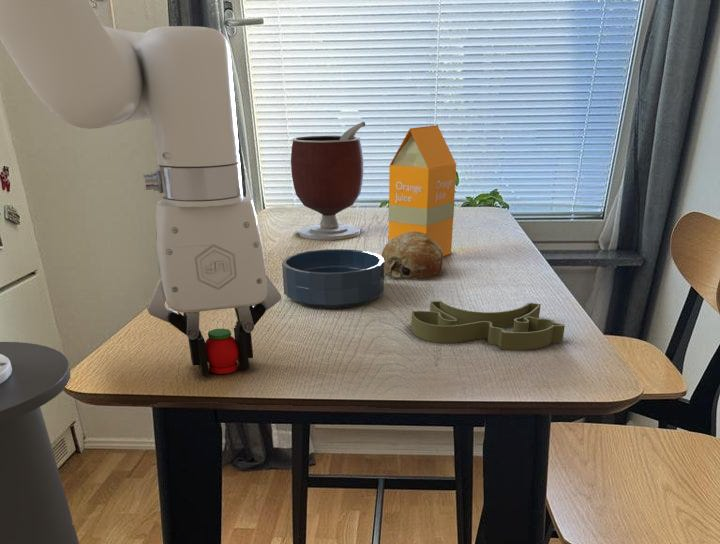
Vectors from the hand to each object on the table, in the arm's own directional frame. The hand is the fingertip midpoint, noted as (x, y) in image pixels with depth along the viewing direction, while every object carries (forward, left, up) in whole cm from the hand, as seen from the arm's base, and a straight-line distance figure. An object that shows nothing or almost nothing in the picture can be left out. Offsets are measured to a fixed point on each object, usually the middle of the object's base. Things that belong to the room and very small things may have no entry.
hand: (223, 366), depth 72 cm
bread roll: (+36, +30, -1) cm, 47 cm away
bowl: (+20, +22, 0) cm, 30 cm away
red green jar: (0, 0, 0) cm, 0 cm away
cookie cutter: (+32, 0, -1) cm, 32 cm away
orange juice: (+42, +40, -1) cm, 58 cm away
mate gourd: (+34, +64, -1) cm, 73 cm away
